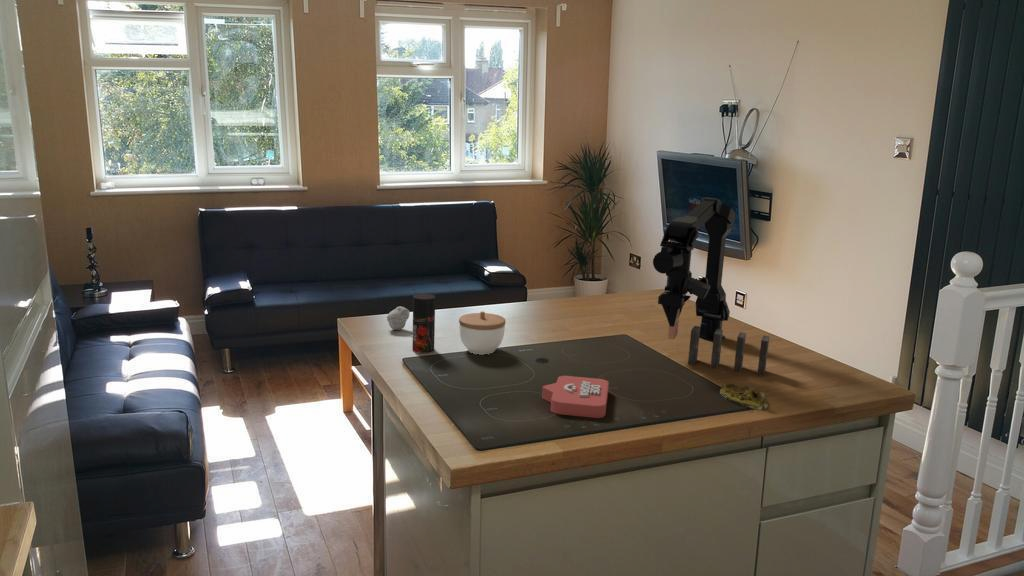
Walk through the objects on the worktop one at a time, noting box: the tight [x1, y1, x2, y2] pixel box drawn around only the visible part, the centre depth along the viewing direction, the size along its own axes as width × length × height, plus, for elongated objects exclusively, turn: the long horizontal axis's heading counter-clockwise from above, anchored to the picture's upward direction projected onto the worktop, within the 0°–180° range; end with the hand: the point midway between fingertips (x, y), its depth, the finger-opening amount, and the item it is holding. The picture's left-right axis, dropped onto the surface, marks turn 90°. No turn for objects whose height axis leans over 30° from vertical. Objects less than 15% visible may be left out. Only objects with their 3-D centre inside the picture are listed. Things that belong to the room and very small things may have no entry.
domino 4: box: [733, 331, 747, 373], centre depth 207 cm, size 2×5×10 cm, turn 158°
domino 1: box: [667, 309, 680, 340], centre depth 212 cm, size 2×5×10 cm, turn 158°
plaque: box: [541, 375, 610, 419], centre depth 181 cm, size 18×4×15 cm
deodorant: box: [412, 293, 436, 354], centre depth 211 cm, size 6×6×15 cm
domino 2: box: [687, 325, 700, 366], centre depth 211 cm, size 2×5×10 cm, turn 157°
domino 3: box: [710, 329, 724, 370], centre depth 209 cm, size 2×5×10 cm, turn 158°
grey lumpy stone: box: [386, 306, 410, 331], centre depth 230 cm, size 6×7×7 cm
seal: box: [719, 383, 769, 411], centre depth 187 cm, size 9×5×15 cm
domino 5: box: [756, 335, 770, 377], centre depth 205 cm, size 2×5×10 cm, turn 157°
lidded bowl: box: [458, 311, 507, 356], centre depth 213 cm, size 13×13×11 cm
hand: (673, 324), depth 212 cm, fingers closed on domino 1, 5 cm apart
